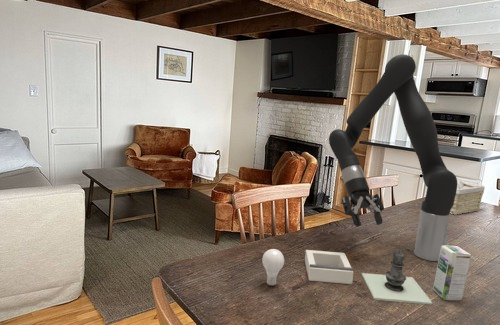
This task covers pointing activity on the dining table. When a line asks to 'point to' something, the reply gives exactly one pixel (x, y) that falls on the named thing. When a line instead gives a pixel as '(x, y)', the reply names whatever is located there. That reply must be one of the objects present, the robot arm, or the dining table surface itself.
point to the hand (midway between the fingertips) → (369, 225)
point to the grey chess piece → (396, 273)
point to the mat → (408, 295)
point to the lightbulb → (272, 264)
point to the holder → (328, 267)
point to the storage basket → (467, 197)
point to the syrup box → (451, 272)
